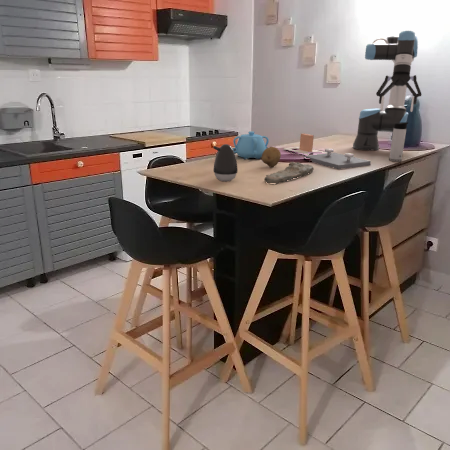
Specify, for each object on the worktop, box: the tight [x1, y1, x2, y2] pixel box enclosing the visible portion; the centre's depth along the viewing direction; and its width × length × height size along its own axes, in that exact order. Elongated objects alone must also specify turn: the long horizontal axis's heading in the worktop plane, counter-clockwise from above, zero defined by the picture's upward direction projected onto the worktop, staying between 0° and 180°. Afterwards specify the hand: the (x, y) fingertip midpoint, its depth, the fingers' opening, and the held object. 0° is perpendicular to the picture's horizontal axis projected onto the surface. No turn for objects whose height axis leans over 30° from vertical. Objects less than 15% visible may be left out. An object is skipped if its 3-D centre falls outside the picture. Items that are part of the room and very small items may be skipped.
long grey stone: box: [264, 161, 315, 184], centre depth 193 cm, size 35×5×10 cm
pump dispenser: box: [212, 143, 238, 182], centre depth 183 cm, size 10×10×15 cm
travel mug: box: [388, 121, 409, 162], centre depth 228 cm, size 6×7×20 cm
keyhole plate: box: [282, 133, 327, 155], centre depth 246 cm, size 14×23×10 cm, turn 31°
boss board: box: [303, 148, 372, 170], centre depth 223 cm, size 22×25×5 cm
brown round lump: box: [261, 146, 282, 168], centre depth 208 cm, size 9×9×10 cm
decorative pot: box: [232, 131, 270, 160], centre depth 230 cm, size 16×16×14 cm
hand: (396, 111), depth 208 cm, fingers open, 13 cm apart
